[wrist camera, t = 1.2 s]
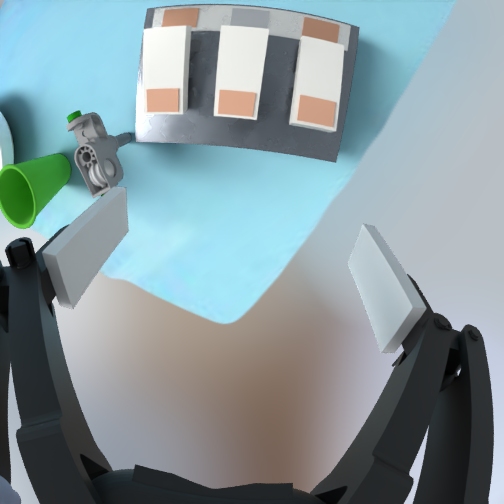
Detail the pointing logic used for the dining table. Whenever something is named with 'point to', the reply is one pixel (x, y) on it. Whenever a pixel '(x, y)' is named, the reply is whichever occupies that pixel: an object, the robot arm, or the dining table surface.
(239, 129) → the console
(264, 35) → the rocker
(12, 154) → the bowl
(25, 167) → the cup
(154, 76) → the block
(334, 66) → the block
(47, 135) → the dining table surface
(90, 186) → the mechanical component
